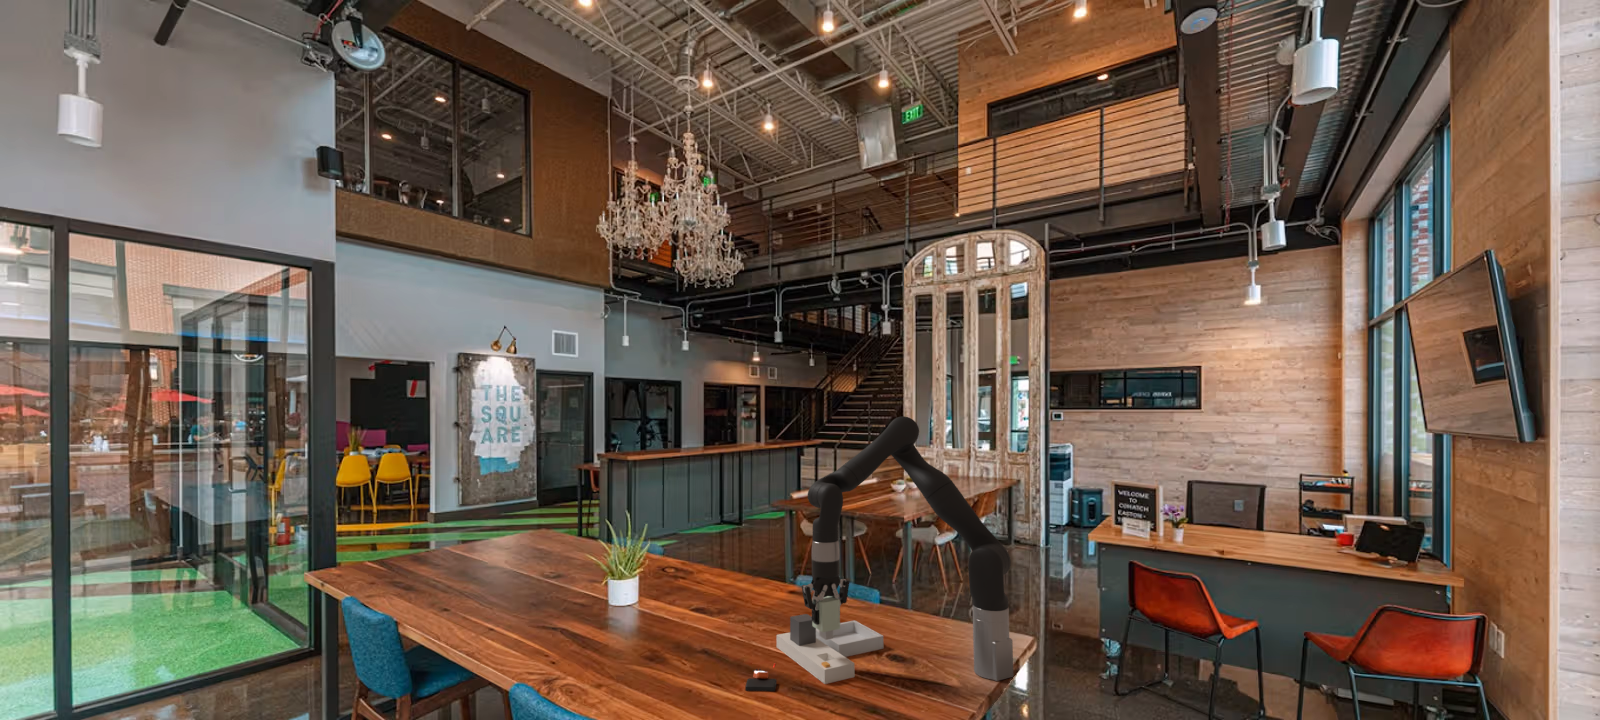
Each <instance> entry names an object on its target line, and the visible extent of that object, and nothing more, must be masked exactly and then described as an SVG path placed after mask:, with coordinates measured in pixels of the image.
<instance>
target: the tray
mask: <svg viewBox="0 0 1600 720" xmlns="http://www.w3.org/2000/svg"><path fill="white" fill-rule="evenodd" d="M816 638H817V639H818V640H820V641H821V642H823V643H824V644H826V645H828V646H829V647H831V648H832V649H834V650H835V651H837V652H838V653H840V654H841V655H843V656H844V657H846V658H848V657H851V656H855V655H860V654H865V653H869V652H874V651H878V650H882V649H883V650H884V635H883V634H881V633H879V632H877V631H876V630H873V629H872V628H870V627H868V626H866V625H864V624H862V623H860V622H859V621H857V620H854V619H853V620H850V621H844V622H840V629H837V630H833V639H828V640H825V639H824V638H822V637H820V636H819V630H818V629H816Z"/></svg>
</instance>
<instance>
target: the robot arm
mask: <svg viewBox="0 0 1600 720" xmlns="http://www.w3.org/2000/svg"><path fill="white" fill-rule="evenodd" d="M917 423H918V422H916V421H915V419H912V417H911V418H910V417H908V416H898V417H896V418H893V419H892V420H891V421H890V423H889V424H888V426H887V427H886V428H885V429H884V430H883V432H881V434H879V436H877V438H875V439H874V440H873V441H872V442H871V443H870V444H869V445H867V446H866V447H865V448H863V449H862V450H861V451H860V452H858V453H857V454H855V455H854V456H853V457H851V458H850V459H849V460H848V461H847V462H846V463H845V464H842V466H840V467H839V468H838V469H836V470H834V471H832V472H831V473H829V474H827V475H825V476H823V477H821V478H819V479H817V480H816V481H815V482H813V483H812V484H811V485H810V487H809V489H808V491H807V500H808V503H809V504H810V505H811V506H813V507H814V508H818V509H820V512H819V517H817V518H815V519H814V520H813V522H812V544H811V576H812V579H811V582H810V583H808V584H802V585H801V591H802V597H803V602H804V606H805V607H807V608H808V609H810V610H811V617H812V621H813V622H814V624H816V625H818V624H819V602H822V601H823V598H824V597H827V596H830V597H832V598H834V599H839V600H840V607H841V606H842V605H843V604H846V603H847V601H848V595H849V588H850V587H849V586H850V580H847V579H845V578H840V574H841V573H840V545H839V523H840V519H841V515H842V510H843V505H844V496H843V493H846V492H847V493H848V492H851V491H854V490H855V489H857V487H858V486H860V485H861V484H863V483H864V482H865V481H866V480H867V479H868V478H869V477H870V476H871V475H872V474H873V473H874V472H875V471H876V470H877V469H878V468H879V467H880V466H881V465H882V464H883V463H884V462H885V461H886V460H887V459H888V458H889V457H890V456H891V457H892V458H893V459H894V461H896V463H898V464H899V466H900V467H901V468H902V469H903V470H904V471H905V473H906V474H907V475H908V476H909V478H910V479H911V481H912V482H913V483H914V485H915V486H916V488H917V489H918V490H919V491H920V494H922V495H923V498H924V499H925V501H926V502H927V503H928V505H929V506H930V508H931V509H932V510H933V512H934V513H935V514H936V515H937V517H938V518H939V519H941V520H942V521H943V522H944V523H945V524H947V525H948V526H949V527H950V528H952V529H953V530H954V531H955V532H956V533H958V535H960V537H962V538H963V540H964V541H965V542H966V544H967V545H968V547H969V548H970V550H971V553H970V554H969V558H968V568H967V569H968V583H969V586H968V587H969V588H968V589H969V593H970V596H971V599H972V637H973V639H972V640H973V671H974V673H975V674H976V675H977V676H979V677H981V678H984V679H987V680H988V679H989V680H994V681H996V682H998V681H1003V680H1005V679H1009V678H1012V677H1014V651H1013V649H1014V647H1013V645H1014V644H1013V639H1012V638H1011V637H1010V611H1009V605H1010V604H1009V597H1008V595H1006V594H1005V584H1004V582H1005V581H1004V576H1005V575H1006V574H1007V573H1008V572H1009V570H1010V569H1011V564H1012V561H1011V557H1010V554H1009V552H1008V550H1007V549H1006V547H1005V546H1004V545H1003V544H1002V543H1001V542H1000V541H999V540H998V538H997V537H996V536H995V535H994V534H993V533H992V532H991V531H990V530H989V529H988V527H987V526H986V525H985V524H984V523H983V521H982V520H981V519H980V518H979V517H980V516H978V515H977V513H976V512H975V510H974V509H973V507H972V506H971V505H970V504H969V502H968V500H966V498H965V497H964V496H963V494H962V492H961V491H960V490H959V489H958V487H957V486H956V484H955V482H953V480H952V479H951V478H950V477H949V476H948V475H947V474H946V473H944V472H943V471H941V470H939V469H938V468H936V467H934V466H933V465H931V464H930V463H928V462H927V460H925V458H924V457H923V456H922V455H921V453H920V452H919V451H918V449H917V447H916V446H915V444H916V442H917V440H918V438H919V435H920V428H919V425H918V424H917ZM838 588H839V592H838ZM812 592H813V593H812ZM812 598H813V600H812Z"/></svg>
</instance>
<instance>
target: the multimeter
mask: <svg viewBox="0 0 1600 720" xmlns="http://www.w3.org/2000/svg"><path fill="white" fill-rule="evenodd" d="M772 666H773V667H772V668H773V669H774V668H775V666H776V663H773V665H772ZM752 672H753V676H752V678H747V680H746V682H745V687H744V688H745V689H744V690H745V691H746V692H771V693H772V692H776V687H777V679H776V678H769V671H765V670H761V668H759V669H758V668H756V669H753V670H752Z"/></svg>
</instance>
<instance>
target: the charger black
mask: <svg viewBox="0 0 1600 720" xmlns="http://www.w3.org/2000/svg"><path fill="white" fill-rule="evenodd" d="M789 618H790V620H789V624H790V625H789V626H790V627H789V631H790V640H791V641H793V642H794V643H796V644H797V645H798V646H801V645H806V644H811V643H816V628H815V627H813V626H812V615H809V614H807V613H803V614H799V615H792V616H789Z"/></svg>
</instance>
